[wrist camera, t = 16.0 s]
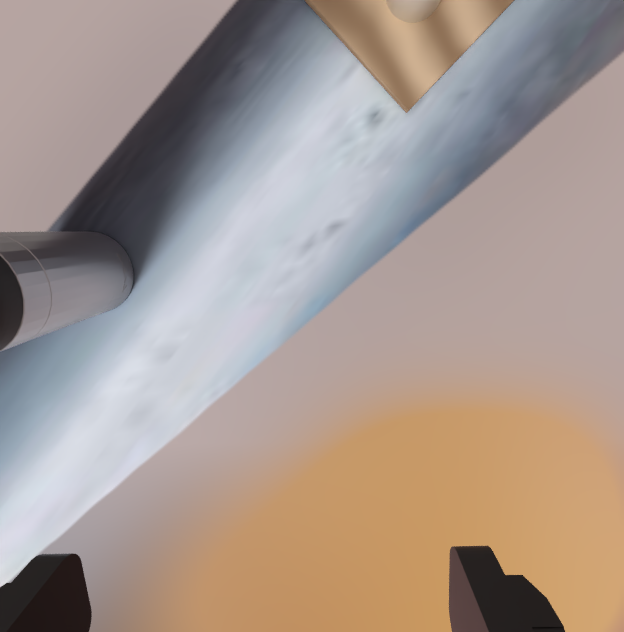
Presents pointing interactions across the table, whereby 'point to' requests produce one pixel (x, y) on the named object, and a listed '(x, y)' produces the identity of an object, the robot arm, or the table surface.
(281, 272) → the table surface
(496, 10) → the oak board
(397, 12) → the lotion bottle
